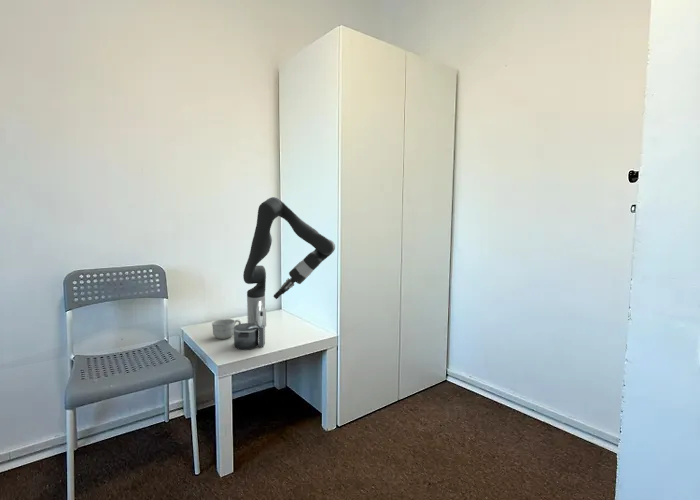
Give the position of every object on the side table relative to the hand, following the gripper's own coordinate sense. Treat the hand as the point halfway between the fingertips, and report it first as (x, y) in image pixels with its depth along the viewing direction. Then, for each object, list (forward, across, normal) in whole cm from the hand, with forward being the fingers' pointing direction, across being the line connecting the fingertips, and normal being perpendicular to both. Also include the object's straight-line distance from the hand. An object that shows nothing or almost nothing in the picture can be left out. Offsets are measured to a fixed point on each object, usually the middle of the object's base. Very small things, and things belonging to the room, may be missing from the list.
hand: (274, 297), depth 186 cm
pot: (+25, 0, +8) cm, 26 cm away
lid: (+11, 0, 0) cm, 11 cm away
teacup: (+34, -12, -2) cm, 37 cm away
